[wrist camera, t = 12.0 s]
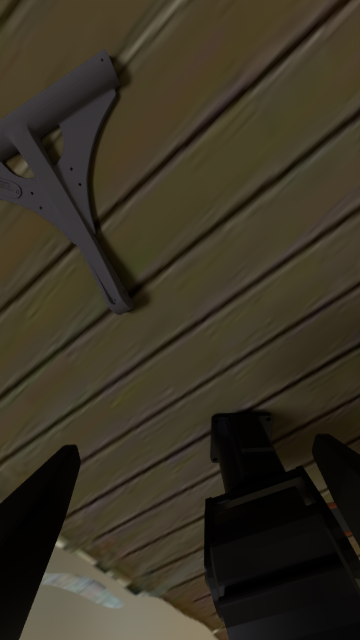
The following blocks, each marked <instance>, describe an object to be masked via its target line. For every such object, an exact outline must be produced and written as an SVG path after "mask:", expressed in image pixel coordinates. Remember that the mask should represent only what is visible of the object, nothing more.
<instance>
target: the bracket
mask: <svg viewBox="0 0 360 640" xmlns="http://www.w3.org/2000/svg"><path fill="white" fill-rule="evenodd" d="M119 86H120V83H119V80H118V77H117V75H116V72H115V70H114V67H113V65H112V63H111V60H110V58H109V55H108V53H107V51H106V49H103V50H102V51H100V52H99V53H98V54H96V55H95V56H93V57H92V58H90V59H89V60H87V61H86V62H84V63H83V64H81V65H80V66H78V67H77V68H76V69H74V70H73V71H71V72H70V73H68V74H67V75H65V76H64V77H62V78H61V79H59V80H58V81H56V82H55V83H54V84H52V85H51V86H49V87H48V88H46V89H45V90H43V91H42V92H40V93H39V94H37V95H36V96H34V97H33V98H32V99H30V100H29V101H27V102H26V103H24V104H23V105H21V106H20V107H18V108H17V109H15V110H14V111H12V112H11V113H10V114H8V115H7V116H5V117H4V118H2V119H1V120H0V199H2V200H6V201H10V202H13V203H16V204H19V205H21V206H23V207H26V208H28V209H31V210H33V211H35V212H36V213H38V214H39V215H41V216H42V217H44V218H45V219H47V220H48V221H49V222H51V223H52V224H53V225H55V226H56V227H57V228H58V229H59V230H60V231H62V232H63V233H64V234H65V235H66V236H67V237H68V238H69V239H70V240H71V241H72V242H73V243H74V244H75V245H77V246H78V247H79V249H80V251H81V253H82V255H83V256H84V258H85V260H86V262H87V264H88V266H89V268H90V270H91V272H92V274H93V276H94V278H95V280H96V282H97V284H98V286H99V288H100V290H101V292H102V294H103V297H104V299H105V301H106V303H107V305H108V307H109V308H110V309H111V310H112V311H113V312H114V313H115V314H117V315H121V314H123V313H125V312H127V311H129V310H131V309H133V308H134V304H133V302H132V300H131V298H130V297H129V295H128V293H127V291H126V290H125V288H124V286H123V285H122V283H121V281H120V279H119V278H118V276H117V274H116V272H115V271H114V269H113V267H112V265H111V264H110V262H109V260H108V259H107V257H106V255H105V253H104V252H103V250H102V248H101V246H100V245H99V243H98V241H97V240H96V238H95V236H94V235H96V234H97V233H96V229H95V225H94V221H93V217H92V213H91V207H90V200H89V187H88V177H89V170H90V163H91V158H92V153H93V149H94V146H95V142H96V139H97V136H98V134H99V131H100V129H101V126H102V124H103V122H104V120H105V118H106V116H107V114H108V113H109V111H110V109H111V107H112V106H113V104H114V102H115V100H116V98H117V94H116V92H115V89H116V88H118V87H119ZM57 126H60V128H61V131H62V134H63V140H64V148H63V153H62V156H61V158H60V160H59V161H58V163H57V164H56V165H53V164H52V162H51V160H50V158H49V157H48V155H47V153H46V151H45V149H44V147H43V145H42V142H41V138H42V137H43V136H44V135H45V134H47V133H48V132H50V131H51V130H53V129H54V128H56V127H57ZM17 152H20V153H21V155H22V156H23V158H24V159H25V161H26V162H27V164H28V165H29V167H30V168H31V170H32V171H33V173H34V174H35V176H36V177H35V178H30V179H26V178H21V177H18V176H16V175H15V174H13V173H12V172H11V171H10V170H9V169H8V168H7V167H6V166H5V164H4V163H3V161H5V160H6V159H8V158H9V157H11V156H12V155H14V154H16V153H17ZM80 185H81V186H80Z"/></svg>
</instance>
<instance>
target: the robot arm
mask: <svg viewBox="0 0 360 640" xmlns="http://www.w3.org/2000/svg"><path fill="white" fill-rule="evenodd" d="M268 417H269V418H268ZM272 424H273V417H272V415H271V414H270V413H249V414H225V415H214V416H212V418H211V448H210V458H211V461H212V462H213V463H219V465H220V470H221V474H222V479H223V484H224V489H225V494H222V495H220V496H217V497H214V498H212V497H210V498H207V499H205V528H204V567H205V581H206V585H207V587H208V588H209V589H210V591H211V595H212V599H213V602H214V605H215V608H216V611H217V613H218V616H219V618H220V619H221V621H222V622H223V623H225V626H226V629H227V633H228V637H229V640H360V588H359V587H360V560H359V558H358V556H357V555H356V553H355V551H354V549H353V547H352V545H351V544H350V542H349V540H348V538H347V537H346V535H345V533H344V531H343V530H342V528H341V526H340V524H339V523H338V521H337V519H336V518H335V516H334V515H333V513H332V511H331V510H330V508H329V507H328V505H327V504H326V502H325V500H324V499H323V497H322V496H321V494H320V493H319V491H318V490H317V488H316V486H315V485H314V483H313V482H312V480H311V479H310V477H309V476H308V474H307V472H306V471H305V469H304V468H303V466H302V465H300V466H298V467H296V469H293V470H290V471H288V472H286V471H285V469H284V467H283V465H282V463H281V461H280V459H279V457H278V455H277V453H276V451H275V449H274V447H273V445H272V443H271V441H270V437H271V431H272ZM312 454H313V457H314V459H315V461H316V463H317V466H318V468H319V470H320V472H321V474H322V476H323V478H324V481H325V483H326V485H327V487H328V489H329V491H330V493H331V496H332V498H333V500H334V502H335V504H336V506H337V508H338V509H339V511H340V513H341V515H342V517H343V518H344V520H345V522H346V524H347V525H348V527H349V529H350V531H351V532H352V534H353V536H354V538H355V540H356V541H357V543H358V545H359V547H360V454H358V453H357V452H355V451H354V450H352V449H351V448H349V447H348V446H346V445H345V444H343V443H342V442H340V441H339V440H337V439H336V438H334V437H333V436H331V435H329V434H317V435H316V436H315V439H314V443H313V448H312ZM80 464H81V460H80V456H79V452H78V448H77V446H76V445H75V444H73V445H64V446H63V447H62V448H61V449H59V450H58V451H57V452H56V453H55V454H54V455H53V456H52V457H51V458H50V459H48V460H47V461H46V462H45V463H44V464H43V465H42V466H41V467H40V468H39V469H38V470H36V471H35V472H34V473H33V474H32V475H31V476H30V477H29V478H28V479H27V480H26V481H24V482H23V483H22V484H21V485H20V486H19V487H18V488H17V489H16V490H15V491H13V492H12V493H11V494H10V495H9V496H8V497H7V498H6V499H5V500H4V501H3V502H1V503H0V640H19V638H20V636H21V633H22V630H23V628H24V625H25V623H26V620H27V617H28V614H29V612H30V609H31V606H32V604H33V602H34V599H35V596H36V594H37V591H38V588H39V586H40V583H41V581H42V578H43V575H44V573H45V570H46V567H47V565H48V562H49V559H50V557H51V554H52V552H53V549H54V547H55V544H56V541H57V539H58V536H59V533H60V531H61V528H62V525H63V523H64V520H65V517H66V514H67V510H68V507H69V504H70V500H71V497H72V493H73V490H74V486H75V483H76V479H77V476H78V472H79V469H80Z"/></svg>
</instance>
